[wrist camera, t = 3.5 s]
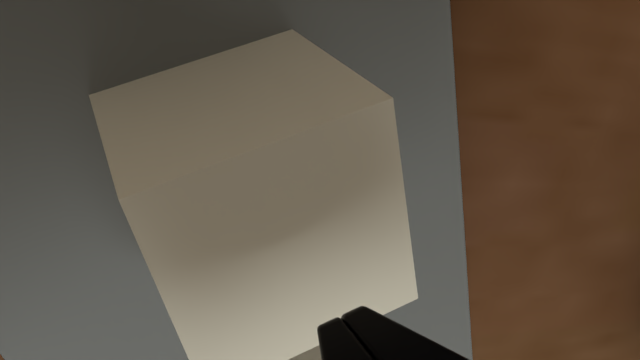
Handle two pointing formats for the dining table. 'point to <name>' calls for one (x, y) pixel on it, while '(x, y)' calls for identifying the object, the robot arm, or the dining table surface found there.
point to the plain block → (261, 195)
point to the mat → (98, 187)
